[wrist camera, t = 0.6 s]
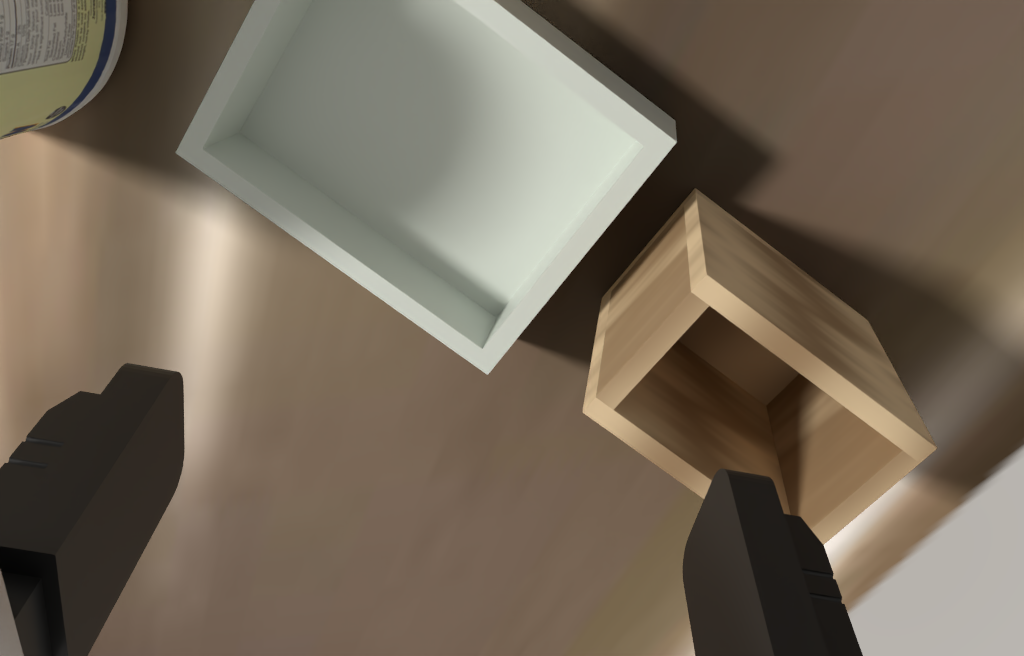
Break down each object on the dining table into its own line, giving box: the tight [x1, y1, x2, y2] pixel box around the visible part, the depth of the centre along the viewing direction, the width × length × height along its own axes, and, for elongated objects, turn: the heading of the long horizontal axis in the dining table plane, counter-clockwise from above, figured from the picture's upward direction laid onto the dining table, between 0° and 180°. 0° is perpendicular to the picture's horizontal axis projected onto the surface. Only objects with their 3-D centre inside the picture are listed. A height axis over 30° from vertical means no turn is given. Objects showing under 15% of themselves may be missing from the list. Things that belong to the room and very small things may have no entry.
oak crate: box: [583, 188, 937, 545], centre depth 32 cm, size 9×6×10 cm, turn 54°
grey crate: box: [176, 0, 677, 375], centre depth 33 cm, size 15×12×4 cm
